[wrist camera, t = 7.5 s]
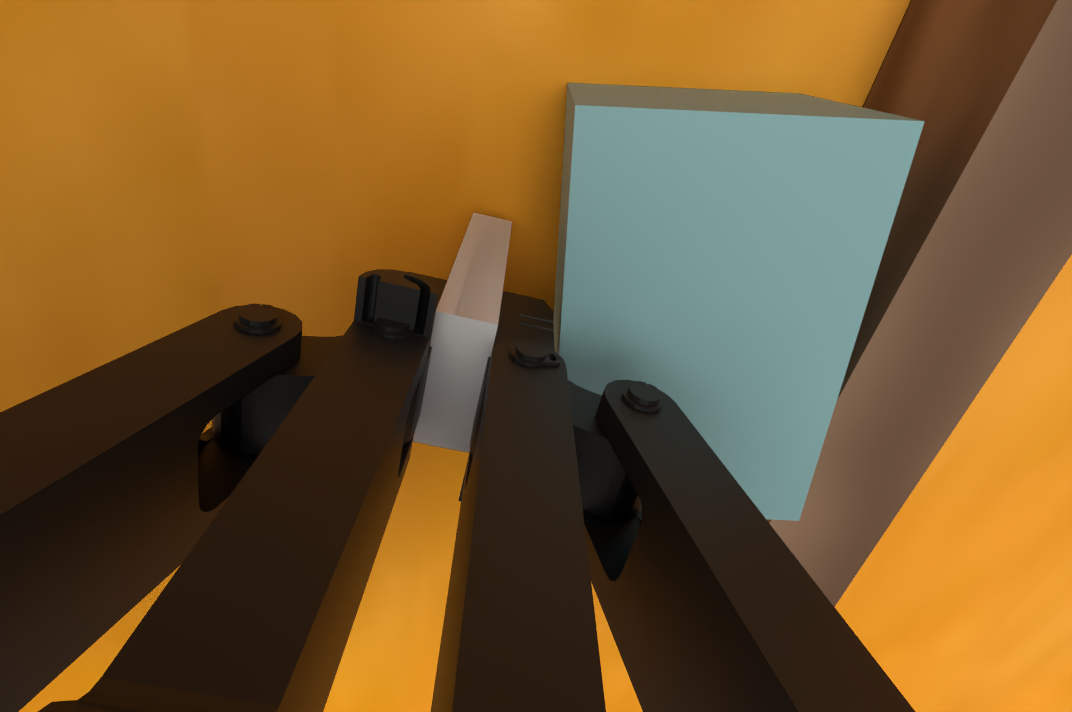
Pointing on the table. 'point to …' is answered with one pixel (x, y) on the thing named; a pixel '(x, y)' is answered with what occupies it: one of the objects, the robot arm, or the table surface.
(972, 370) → the board
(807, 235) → the block
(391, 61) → the table surface
